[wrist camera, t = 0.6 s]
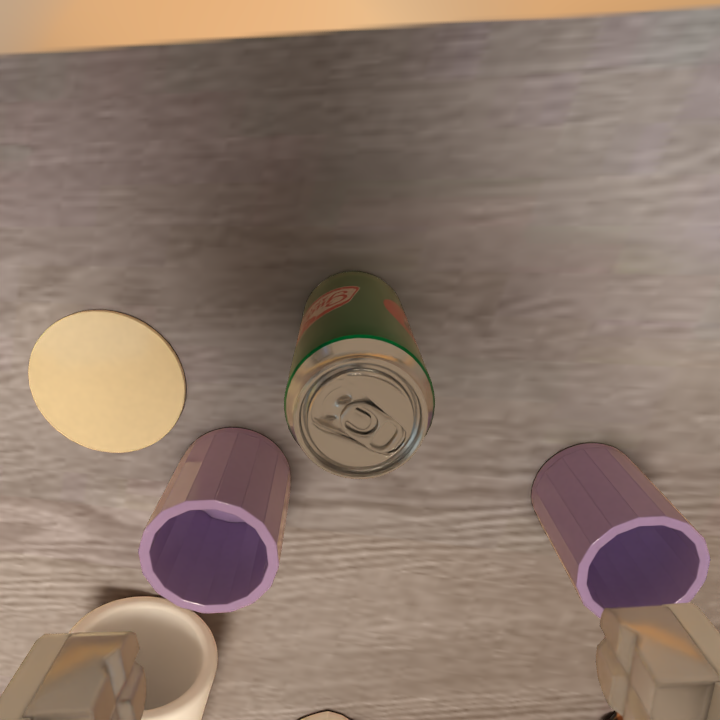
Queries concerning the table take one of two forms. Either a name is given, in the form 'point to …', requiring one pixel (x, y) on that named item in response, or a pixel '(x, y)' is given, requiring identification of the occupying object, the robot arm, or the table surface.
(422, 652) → the table surface
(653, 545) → the purple hollow cylinder
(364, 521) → the table surface
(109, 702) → the robot arm
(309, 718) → the jar
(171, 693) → the mug
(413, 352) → the soda can
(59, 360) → the coasters
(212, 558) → the purple tumbler
